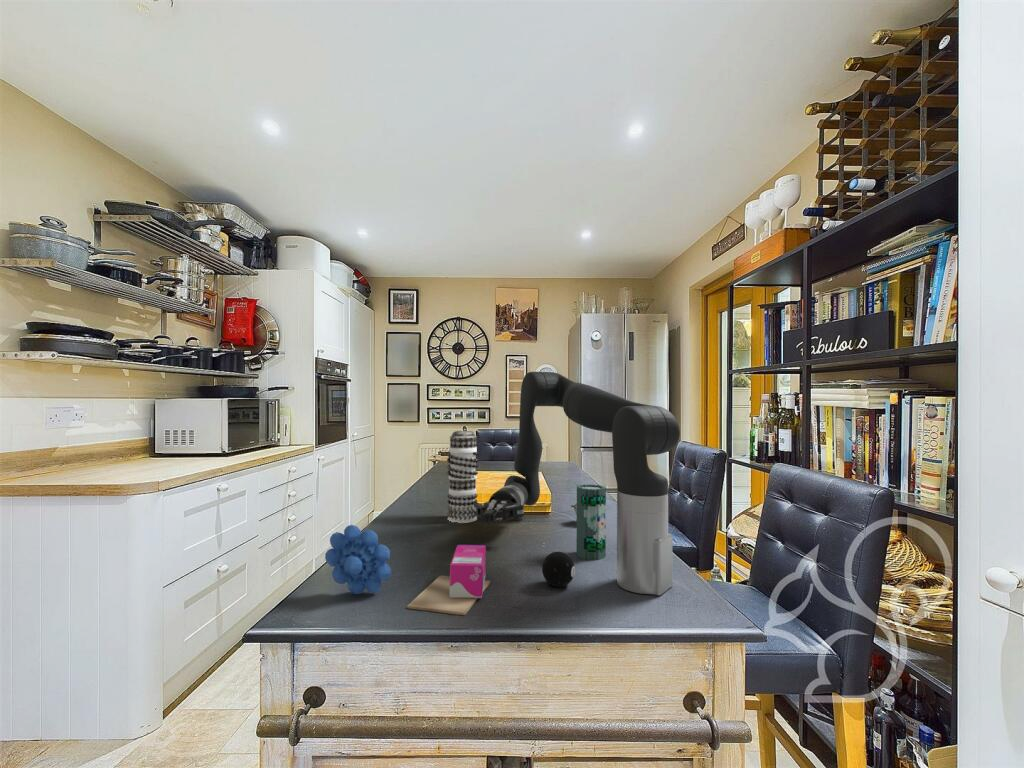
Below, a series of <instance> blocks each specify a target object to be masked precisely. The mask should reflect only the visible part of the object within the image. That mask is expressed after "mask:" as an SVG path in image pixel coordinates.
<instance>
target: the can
mask: <svg viewBox="0 0 1024 768" xmlns="http://www.w3.org/2000/svg"><path fill="white" fill-rule="evenodd" d="M606 492H607V487H606V486H604V485H600V484H588V483H587V484H578V485H576V503H577V515H576V550H575V551H576V556H577V557H578V558H581V559H584V560H589V561H590V560H592V561H596V560H598V561H599V560H603V559H605V557H606V556H607V554H606V552H607V551H606V544H607V543H606V542H607V541H606V540H607V538H606V537H607V536H606V535H607V534H606V532H607V531H606V530H607V528H606V527H607V525H606V524H607V522H606V520H607V515H606V514H607V513H606V512H607V509H606V508H607V493H606Z"/></svg>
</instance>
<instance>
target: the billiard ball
mask: <svg viewBox="0 0 1024 768" xmlns="http://www.w3.org/2000/svg"><path fill="white" fill-rule="evenodd" d="M575 567H576V566H575V562H574V560H573V558H572V557H571V556H570V555H569V554H567V553H566V552H564V551H553V552H550V553H548V554H547V555H546V556H545V557H544V559H543V561H542V565H541V571H542V576H543V578H544V580H545V581H546V582H547V583H548V584H550V585H551V586H554V587H559V588H560V587H564V586H567V585H569V584H570V583H571V582H572V581H573V579H574V576H575V571H576V568H575Z"/></svg>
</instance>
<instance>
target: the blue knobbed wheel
mask: <svg viewBox="0 0 1024 768" xmlns="http://www.w3.org/2000/svg"><path fill="white" fill-rule="evenodd" d="M329 544H330V546H331V548H329V549H327V551H326V552H325V555H324V557H325V558H324V559H325V562H326V563H327V564H328V565H329V566H331V567H334V568H333V569H332V571H331V577H332V579H333V582H336V583H337V584H340V585H344V584H346V583H347V585H346V586H347V588H348V591H349V592H350V593H352V594H353V595H356V596H357V595H360V594H362V593H364V591H365V590H366V591H367V592H368V593H370V594H375V593H377V592H380V590H381V588H382V581H386V580H388V579H390V578H391V576H392V568H391V567H390V565H389V564H388V563H386V562H388V561H389V559H390V558H391V555H390V553H391V550H390V549H389V548H388V547H387V546H386V545H384V544H383V543H382V544H380V543H379V537H378V534H377V532H375V531H374V530H372V529H365V530H363V531H361V530H360V528H359V527H358V526H356V525H354V524H350V525H347V526H346V527H345V528H344V530H343V533H342V532H339V531H338V532H337V531H336V532H334V533H332V535H331V536H330V538H329Z"/></svg>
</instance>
